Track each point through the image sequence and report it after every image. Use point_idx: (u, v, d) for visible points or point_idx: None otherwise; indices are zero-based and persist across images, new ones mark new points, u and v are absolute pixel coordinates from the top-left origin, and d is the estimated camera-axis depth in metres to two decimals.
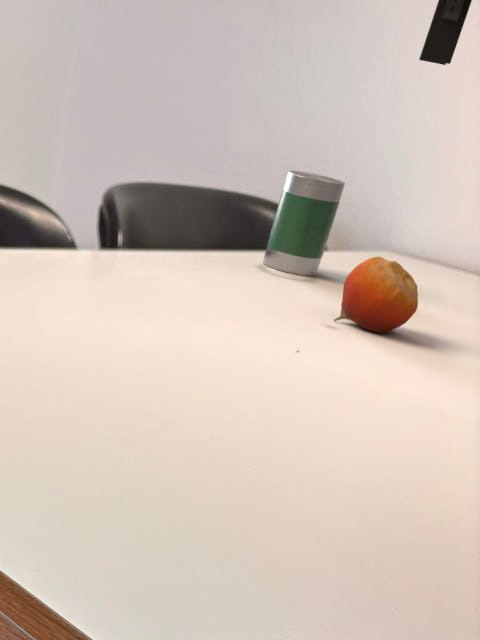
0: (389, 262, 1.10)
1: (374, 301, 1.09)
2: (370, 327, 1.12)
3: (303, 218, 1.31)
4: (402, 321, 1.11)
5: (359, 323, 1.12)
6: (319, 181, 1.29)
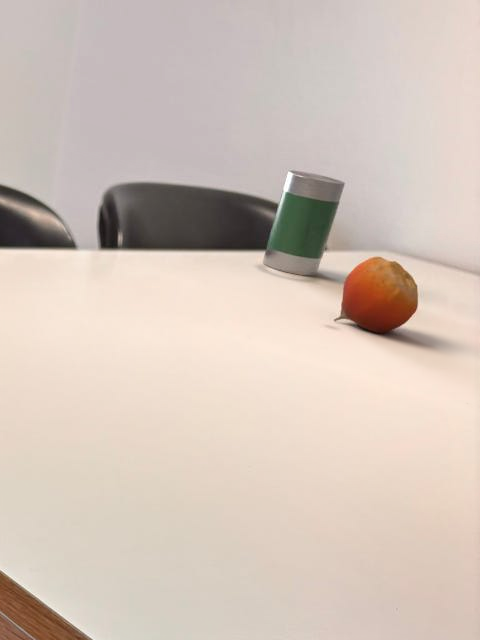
0: (389, 262, 1.10)
1: (374, 301, 1.09)
2: (370, 327, 1.12)
3: (303, 218, 1.31)
4: (402, 321, 1.11)
5: (359, 323, 1.12)
6: (319, 181, 1.29)
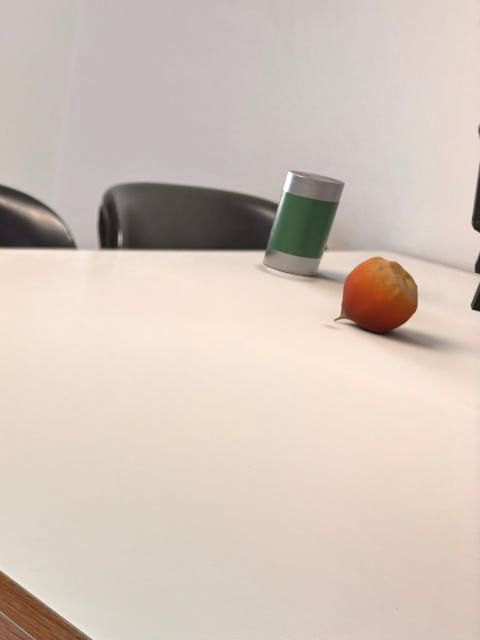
0: (389, 262, 1.10)
1: (374, 301, 1.09)
2: (370, 327, 1.12)
3: (303, 218, 1.31)
4: (402, 321, 1.11)
5: (359, 323, 1.12)
6: (319, 181, 1.29)
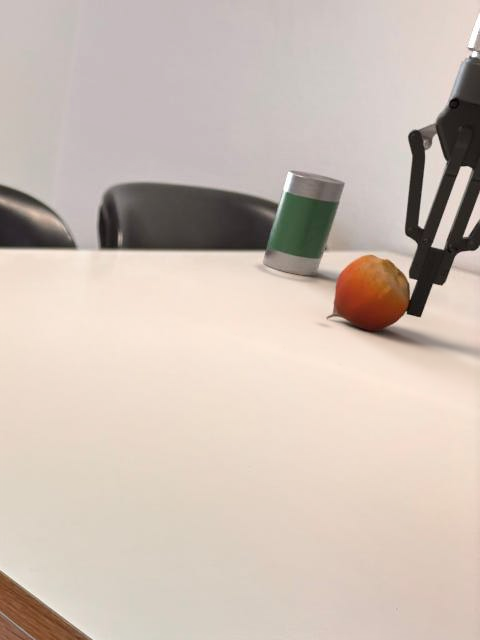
0: (381, 260, 1.11)
1: (365, 298, 1.10)
2: (362, 325, 1.12)
3: (303, 218, 1.31)
4: (394, 319, 1.11)
5: (351, 321, 1.12)
6: (319, 181, 1.29)
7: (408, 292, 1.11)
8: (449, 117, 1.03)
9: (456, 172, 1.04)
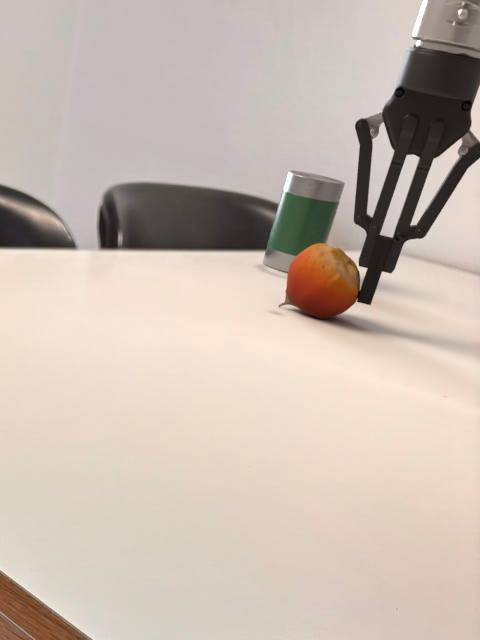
0: (331, 248, 1.12)
1: (314, 286, 1.11)
2: (313, 313, 1.13)
3: (303, 218, 1.31)
4: (344, 307, 1.12)
5: (302, 309, 1.14)
6: (319, 181, 1.29)
7: (358, 280, 1.12)
8: (395, 106, 1.04)
9: (402, 160, 1.05)
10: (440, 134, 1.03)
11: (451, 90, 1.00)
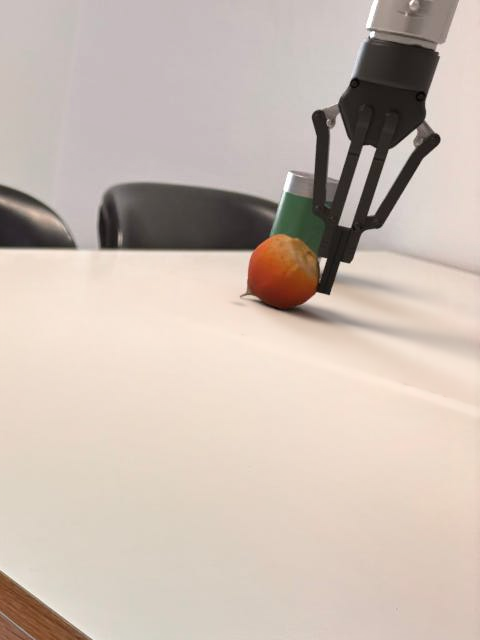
0: (291, 239, 1.12)
1: (274, 276, 1.12)
2: (273, 303, 1.14)
3: (303, 218, 1.31)
4: (304, 297, 1.13)
5: (262, 299, 1.14)
6: None
7: (317, 270, 1.13)
8: (350, 97, 1.04)
9: (358, 151, 1.06)
10: (395, 125, 1.04)
11: (404, 80, 1.00)
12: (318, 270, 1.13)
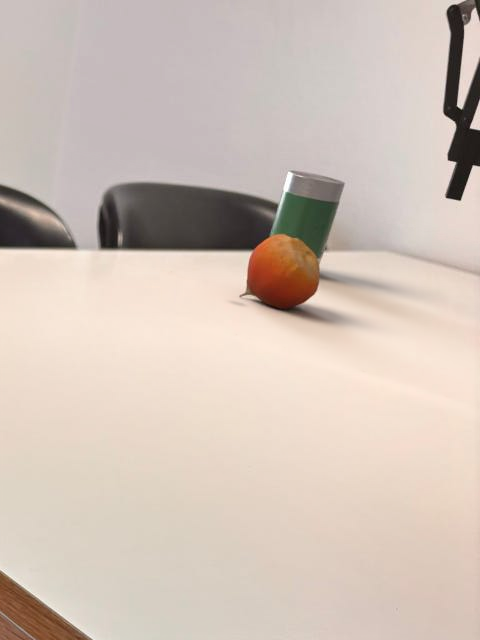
0: (290, 239, 1.12)
1: (273, 276, 1.12)
2: (273, 303, 1.14)
3: (303, 218, 1.31)
4: (303, 297, 1.13)
5: (262, 299, 1.14)
6: (319, 181, 1.29)
7: (317, 270, 1.13)
8: None
9: None
10: None
11: None
12: (317, 270, 1.13)
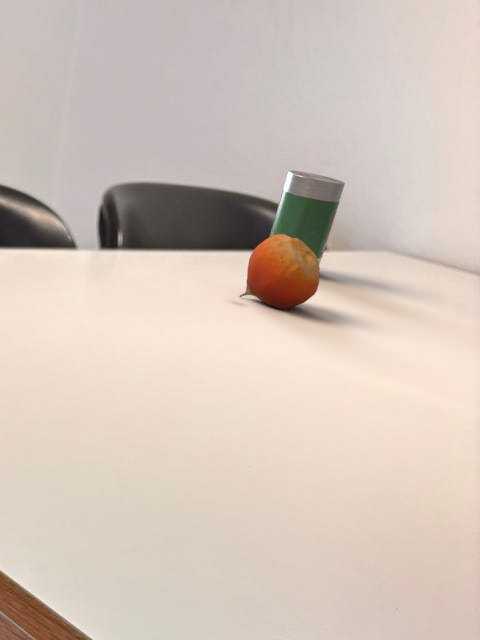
0: (290, 239, 1.12)
1: (273, 276, 1.12)
2: (273, 303, 1.14)
3: (303, 218, 1.31)
4: (303, 297, 1.13)
5: (262, 299, 1.14)
6: (319, 181, 1.29)
7: (317, 270, 1.13)
8: None
9: None
10: None
11: None
12: (318, 270, 1.13)
